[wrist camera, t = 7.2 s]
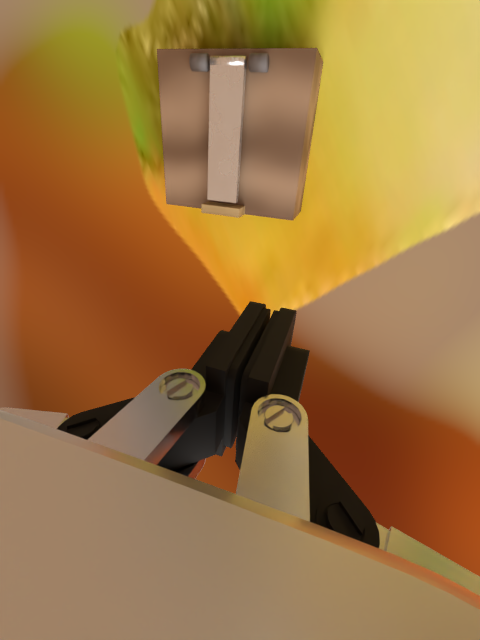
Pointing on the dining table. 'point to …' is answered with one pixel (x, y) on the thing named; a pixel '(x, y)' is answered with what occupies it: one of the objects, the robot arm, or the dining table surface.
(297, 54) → the walnut box
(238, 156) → the steel strap
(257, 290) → the dining table surface
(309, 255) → the dining table surface
